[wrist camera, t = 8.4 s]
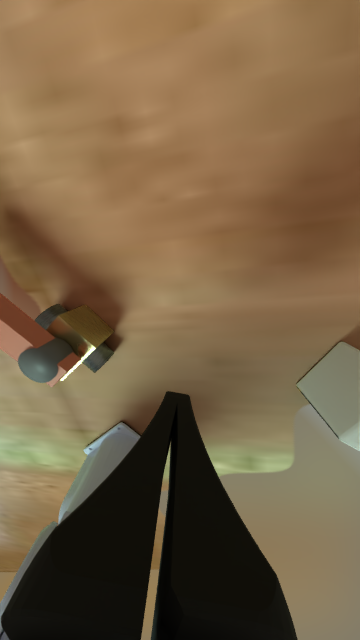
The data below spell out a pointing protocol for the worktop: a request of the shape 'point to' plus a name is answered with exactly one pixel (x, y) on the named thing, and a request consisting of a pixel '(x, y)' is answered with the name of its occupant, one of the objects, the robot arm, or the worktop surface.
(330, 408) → the medicine bottle
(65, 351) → the lever
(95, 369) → the valve
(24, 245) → the worktop surface
